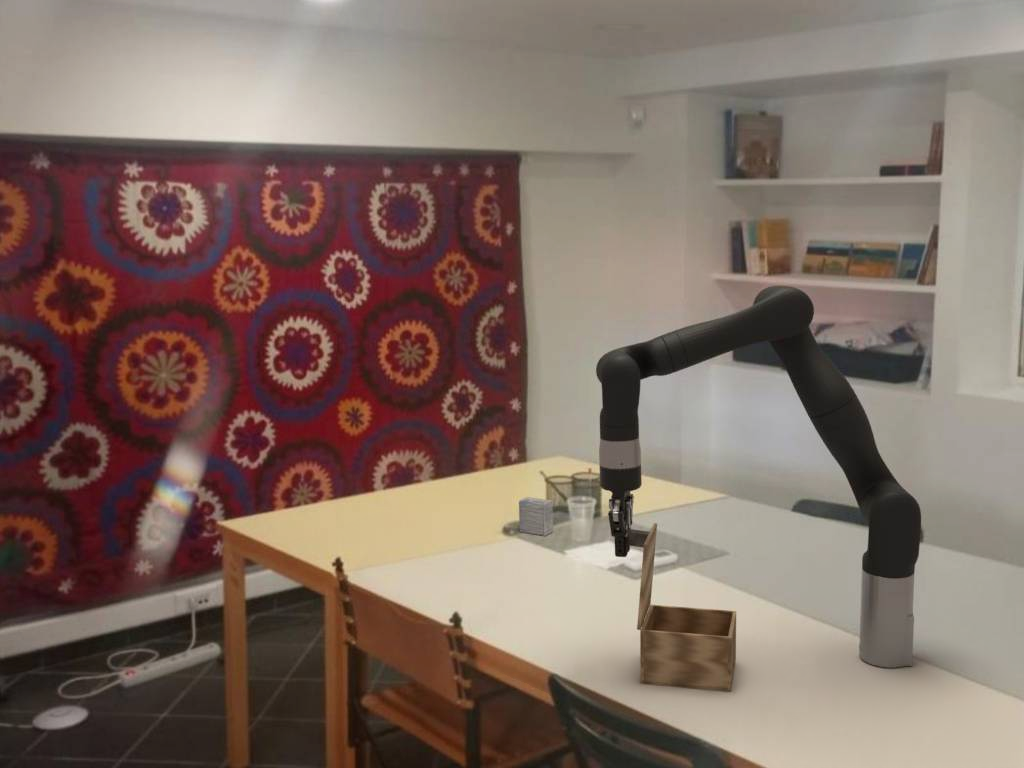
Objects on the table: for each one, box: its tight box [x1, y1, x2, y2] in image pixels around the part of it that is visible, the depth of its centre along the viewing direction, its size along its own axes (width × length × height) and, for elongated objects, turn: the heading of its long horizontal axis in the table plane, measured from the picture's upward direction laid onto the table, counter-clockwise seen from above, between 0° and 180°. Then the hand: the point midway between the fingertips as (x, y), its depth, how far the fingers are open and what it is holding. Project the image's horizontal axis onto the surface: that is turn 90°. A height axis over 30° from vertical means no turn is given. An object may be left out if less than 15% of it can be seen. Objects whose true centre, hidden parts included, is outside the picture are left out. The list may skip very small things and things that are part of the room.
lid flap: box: [627, 522, 658, 631], centre depth 203 cm, size 16×13×6 cm
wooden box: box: [639, 604, 737, 693], centre depth 202 cm, size 16×13×10 cm
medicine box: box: [518, 496, 554, 537], centre depth 289 cm, size 8×4×9 cm, turn 58°
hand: (622, 553), depth 203 cm, fingers closed on lid flap, 2 cm apart
